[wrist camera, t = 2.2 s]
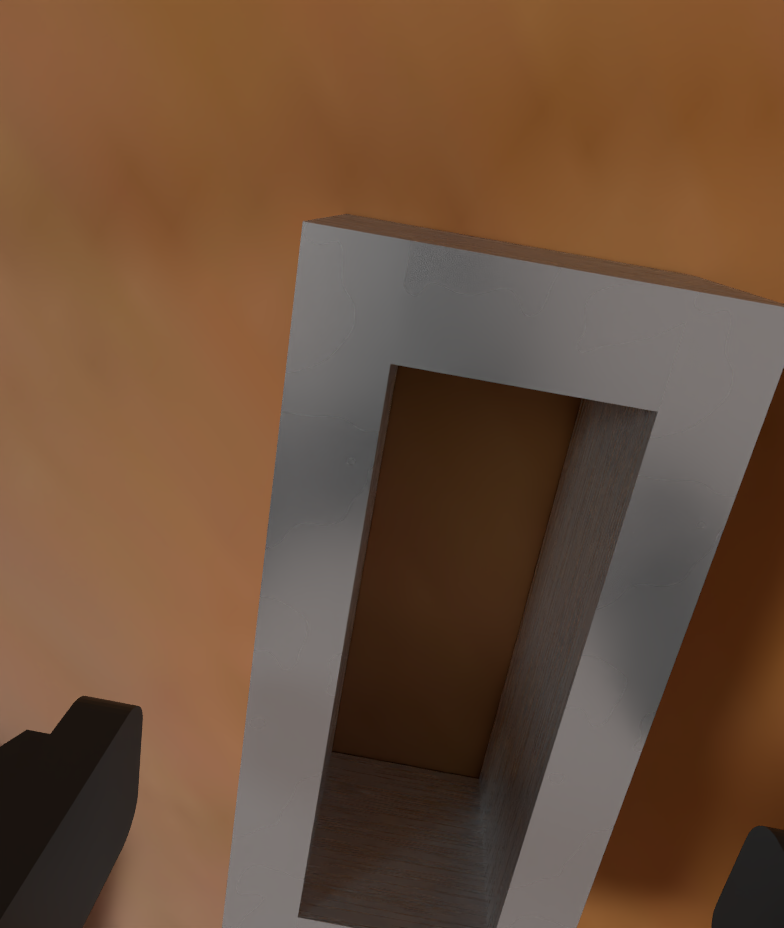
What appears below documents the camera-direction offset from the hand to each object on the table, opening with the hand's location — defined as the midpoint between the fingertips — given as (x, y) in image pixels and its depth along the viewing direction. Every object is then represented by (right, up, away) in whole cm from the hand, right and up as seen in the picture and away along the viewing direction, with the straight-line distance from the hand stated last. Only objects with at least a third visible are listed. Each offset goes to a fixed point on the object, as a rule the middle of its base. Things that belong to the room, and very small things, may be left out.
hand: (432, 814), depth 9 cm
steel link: (+1, +2, +5) cm, 6 cm away
